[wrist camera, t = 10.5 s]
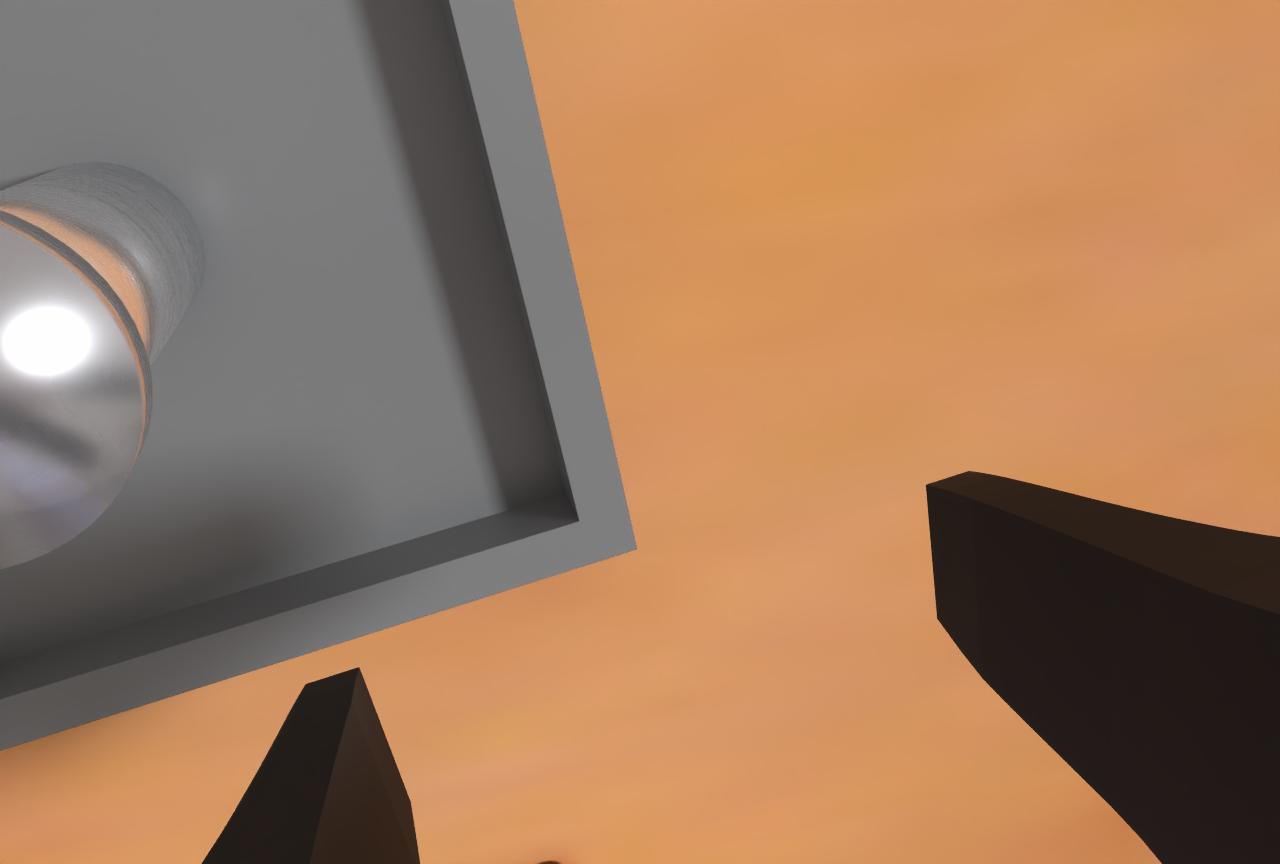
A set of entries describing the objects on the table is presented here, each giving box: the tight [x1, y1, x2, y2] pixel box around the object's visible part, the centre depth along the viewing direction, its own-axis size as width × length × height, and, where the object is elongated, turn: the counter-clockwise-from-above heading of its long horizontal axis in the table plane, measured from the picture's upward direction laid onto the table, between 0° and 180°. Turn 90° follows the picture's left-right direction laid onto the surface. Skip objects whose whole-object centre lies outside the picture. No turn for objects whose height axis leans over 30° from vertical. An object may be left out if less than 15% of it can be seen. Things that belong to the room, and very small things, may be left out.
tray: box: [0, 0, 637, 751], centre depth 16 cm, size 16×14×2 cm
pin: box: [0, 162, 205, 569], centre depth 13 cm, size 4×4×8 cm
